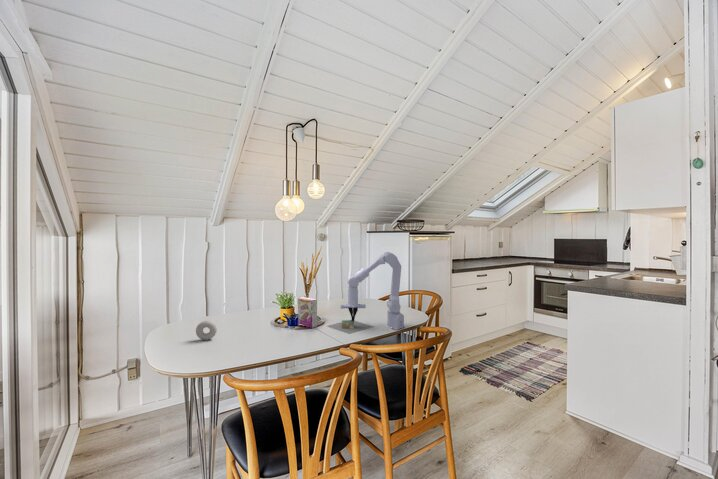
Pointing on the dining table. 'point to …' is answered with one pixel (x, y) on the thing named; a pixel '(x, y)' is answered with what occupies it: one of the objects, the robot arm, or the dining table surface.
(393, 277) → the robot arm
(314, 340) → the dining table surface
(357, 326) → the rubber mat
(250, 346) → the dining table surface
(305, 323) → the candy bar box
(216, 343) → the dining table surface
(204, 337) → the donut
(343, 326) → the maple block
